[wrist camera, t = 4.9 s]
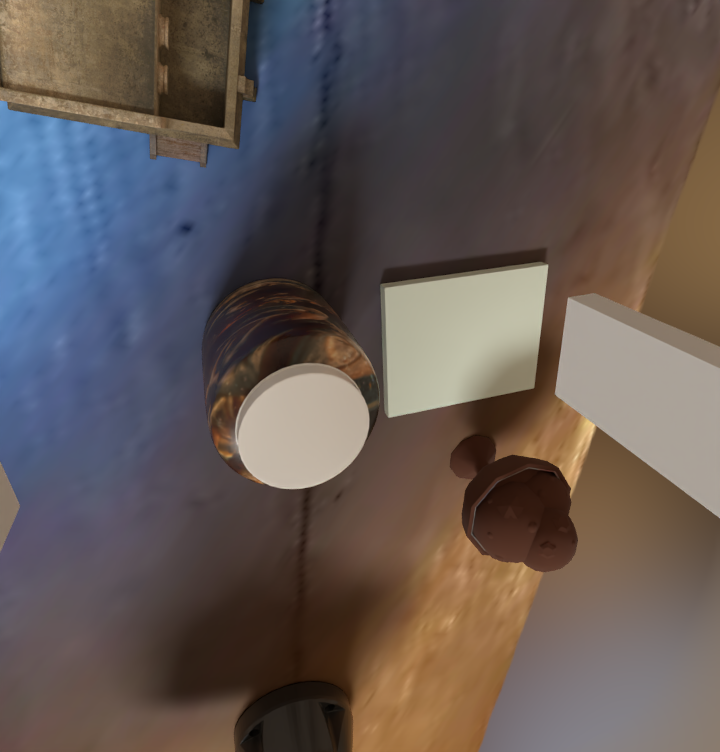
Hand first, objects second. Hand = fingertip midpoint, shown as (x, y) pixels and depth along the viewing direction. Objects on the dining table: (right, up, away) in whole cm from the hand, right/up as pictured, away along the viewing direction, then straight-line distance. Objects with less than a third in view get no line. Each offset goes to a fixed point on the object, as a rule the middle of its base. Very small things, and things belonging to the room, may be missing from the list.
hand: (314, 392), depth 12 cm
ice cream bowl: (+13, -8, +46) cm, 48 cm away
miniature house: (-13, +22, +22) cm, 34 cm away
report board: (+11, +4, +38) cm, 40 cm away
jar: (-7, +3, +33) cm, 34 cm away
